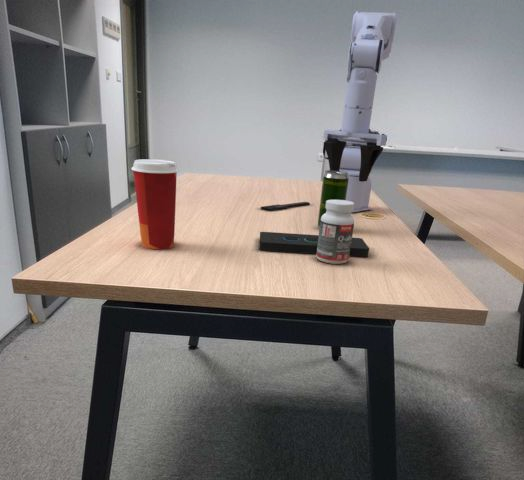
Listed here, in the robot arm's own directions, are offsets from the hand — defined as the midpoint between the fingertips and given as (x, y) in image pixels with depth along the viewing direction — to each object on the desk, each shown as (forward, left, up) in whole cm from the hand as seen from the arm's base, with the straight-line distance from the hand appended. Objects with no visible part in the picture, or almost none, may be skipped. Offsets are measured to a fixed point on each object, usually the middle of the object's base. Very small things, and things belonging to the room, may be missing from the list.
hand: (348, 178), depth 103 cm
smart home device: (+21, +8, -11) cm, 25 cm away
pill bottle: (+24, +15, -11) cm, 30 cm away
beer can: (+5, 0, -11) cm, 12 cm away
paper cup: (+44, -9, -11) cm, 46 cm away
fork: (-5, -22, -10) cm, 25 cm away
